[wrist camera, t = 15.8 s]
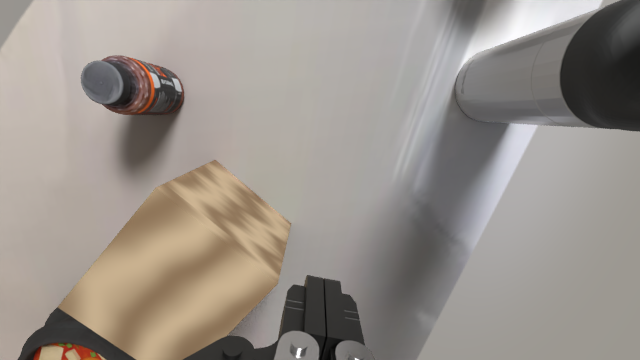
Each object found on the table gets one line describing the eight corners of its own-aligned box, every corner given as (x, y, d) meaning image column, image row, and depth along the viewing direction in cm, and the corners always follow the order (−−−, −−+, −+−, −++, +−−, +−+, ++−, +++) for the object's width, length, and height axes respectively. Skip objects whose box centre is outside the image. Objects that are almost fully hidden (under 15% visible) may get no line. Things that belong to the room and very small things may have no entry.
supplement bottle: (188, 72, 38) (136, 57, 27) (183, 118, 40) (132, 121, 29) (141, 62, 38) (70, 42, 27) (138, 109, 39) (68, 108, 28)
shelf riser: (290, 223, 43) (277, 283, 28) (222, 295, 46) (176, 386, 30) (215, 159, 41) (155, 187, 26) (147, 239, 43) (57, 307, 28)
